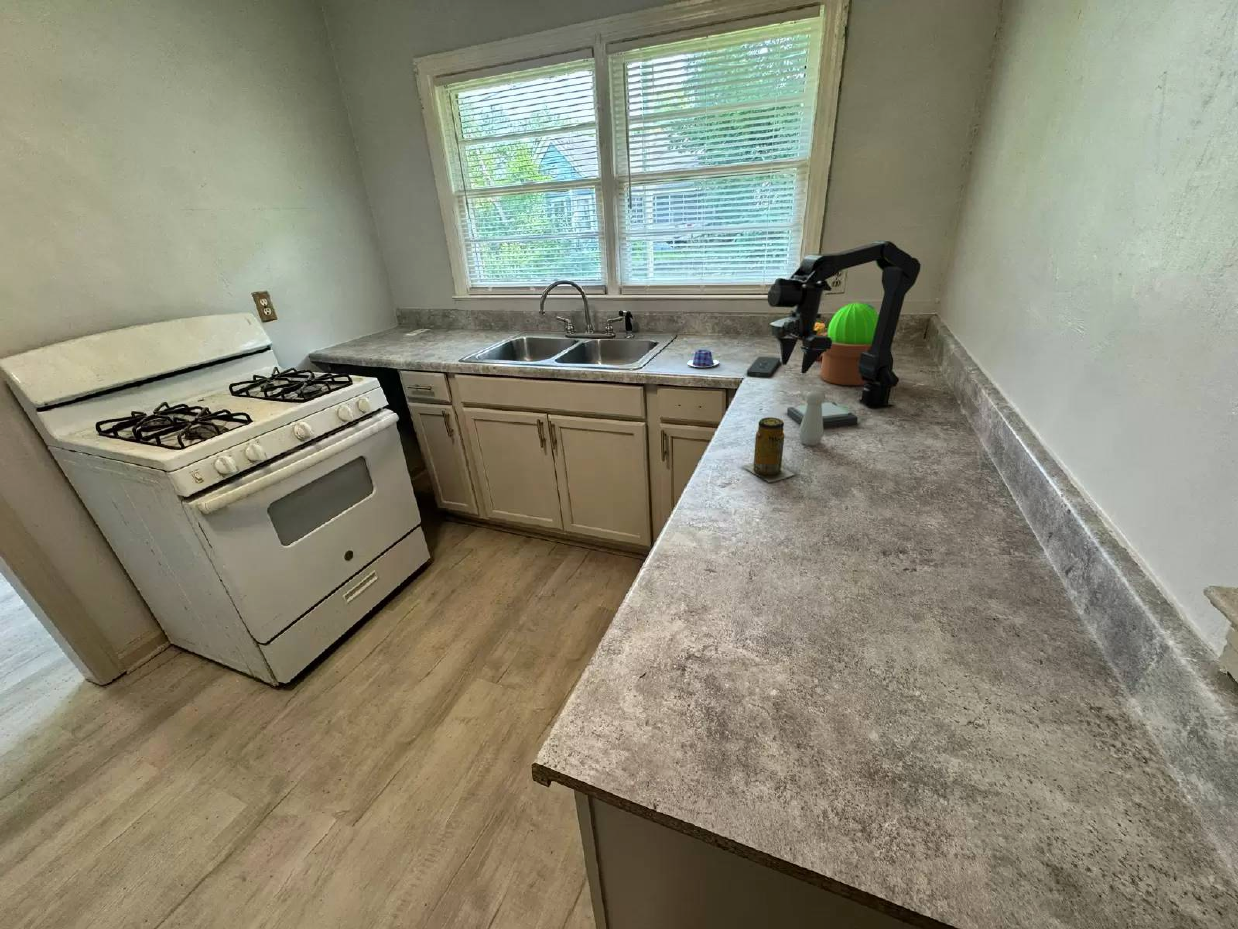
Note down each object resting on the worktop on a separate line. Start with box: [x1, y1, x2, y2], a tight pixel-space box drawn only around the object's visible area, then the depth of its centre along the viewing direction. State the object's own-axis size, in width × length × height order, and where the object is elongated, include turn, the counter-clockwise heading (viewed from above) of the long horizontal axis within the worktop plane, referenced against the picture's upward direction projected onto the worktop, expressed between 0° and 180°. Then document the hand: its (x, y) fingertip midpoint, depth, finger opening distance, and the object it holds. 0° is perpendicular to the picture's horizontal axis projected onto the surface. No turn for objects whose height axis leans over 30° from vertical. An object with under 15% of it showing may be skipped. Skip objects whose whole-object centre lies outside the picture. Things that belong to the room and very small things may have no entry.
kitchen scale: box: [786, 401, 859, 429], centre depth 136 cm, size 14×12×3 cm
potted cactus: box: [820, 300, 879, 386], centre depth 160 cm, size 22×22×25 cm
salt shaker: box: [798, 390, 826, 446], centre depth 121 cm, size 6×6×13 cm
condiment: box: [744, 416, 796, 483], centre depth 109 cm, size 7×8×12 cm
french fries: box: [814, 322, 826, 361], centre depth 186 cm, size 9×4×13 cm, turn 163°
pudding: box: [687, 349, 720, 368], centre depth 189 cm, size 12×12×5 cm
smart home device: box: [746, 356, 781, 378], centre depth 181 cm, size 8×2×20 cm
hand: (793, 368), depth 132 cm, fingers open, 9 cm apart
